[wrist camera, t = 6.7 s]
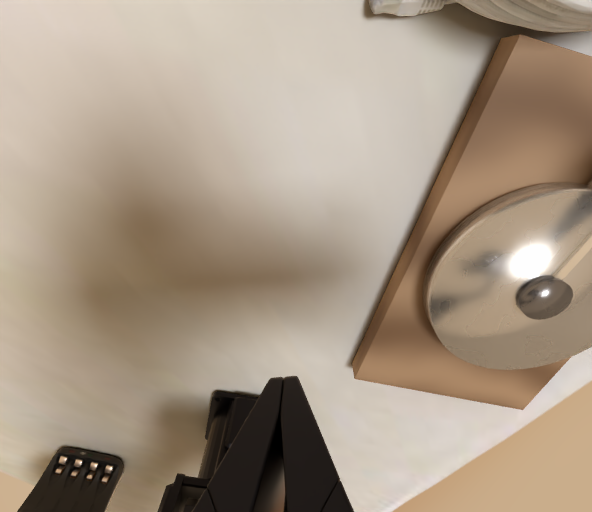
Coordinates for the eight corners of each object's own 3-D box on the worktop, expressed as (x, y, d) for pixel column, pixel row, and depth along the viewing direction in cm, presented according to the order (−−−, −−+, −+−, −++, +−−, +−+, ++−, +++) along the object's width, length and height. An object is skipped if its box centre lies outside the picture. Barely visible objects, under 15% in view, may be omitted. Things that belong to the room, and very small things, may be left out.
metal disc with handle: (538, 370, 23) (616, 465, 17) (388, 325, 21) (420, 415, 16) (745, 170, 16) (987, 219, 10) (547, 78, 14) (709, 78, 9)
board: (511, 393, 27) (523, 411, 25) (351, 363, 25) (354, 379, 24) (749, 115, 16) (791, 118, 15) (501, 38, 15) (521, 33, 14)
